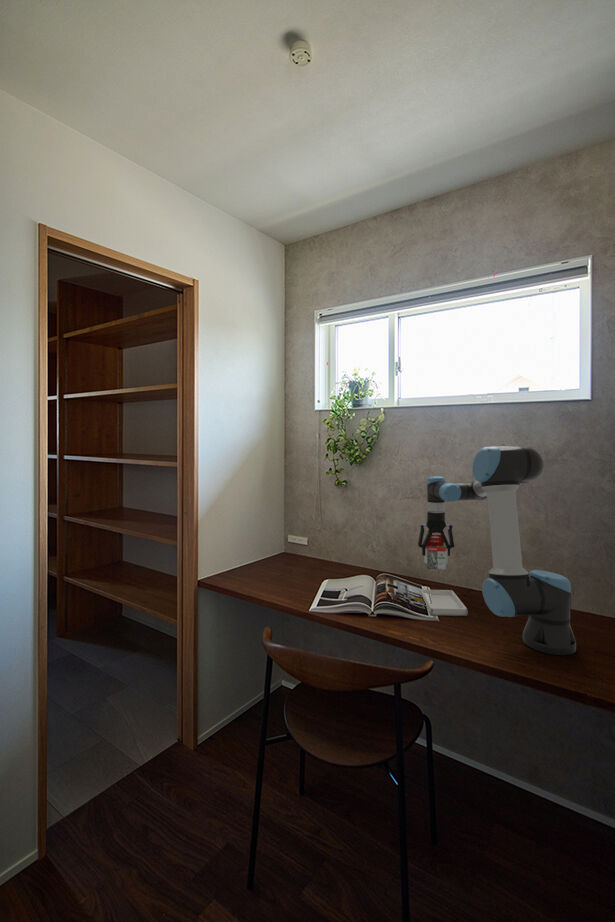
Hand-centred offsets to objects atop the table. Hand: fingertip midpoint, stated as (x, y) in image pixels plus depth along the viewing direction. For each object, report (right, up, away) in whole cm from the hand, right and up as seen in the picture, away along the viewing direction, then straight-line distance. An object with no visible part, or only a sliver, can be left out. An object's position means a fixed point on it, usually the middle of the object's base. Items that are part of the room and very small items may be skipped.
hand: (435, 563), depth 191 cm
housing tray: (-2, -13, -16) cm, 21 cm away
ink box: (0, -3, 0) cm, 3 cm away
